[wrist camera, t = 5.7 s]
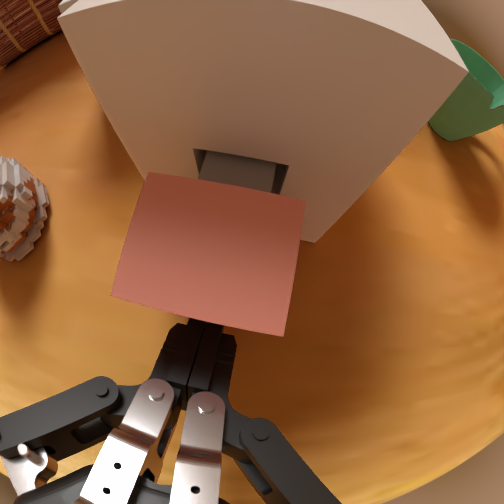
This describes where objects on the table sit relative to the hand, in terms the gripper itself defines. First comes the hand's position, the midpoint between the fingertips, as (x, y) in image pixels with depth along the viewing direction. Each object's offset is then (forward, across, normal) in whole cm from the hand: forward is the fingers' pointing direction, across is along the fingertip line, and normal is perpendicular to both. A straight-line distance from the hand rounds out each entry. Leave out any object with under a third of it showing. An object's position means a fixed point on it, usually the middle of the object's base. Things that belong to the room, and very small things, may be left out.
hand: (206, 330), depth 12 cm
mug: (+23, -22, -14) cm, 35 cm away
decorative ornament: (+7, +20, +2) cm, 21 cm away
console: (+14, 0, -6) cm, 16 cm away
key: (+9, 0, -2) cm, 9 cm away
